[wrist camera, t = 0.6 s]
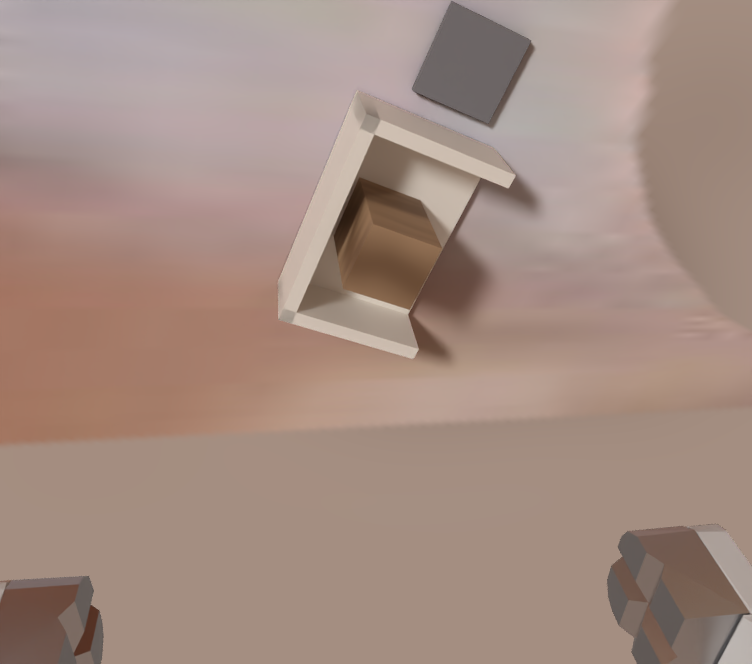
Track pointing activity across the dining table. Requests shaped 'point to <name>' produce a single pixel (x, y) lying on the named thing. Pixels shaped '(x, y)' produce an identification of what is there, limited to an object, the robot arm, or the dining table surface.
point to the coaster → (470, 63)
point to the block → (385, 244)
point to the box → (397, 172)
